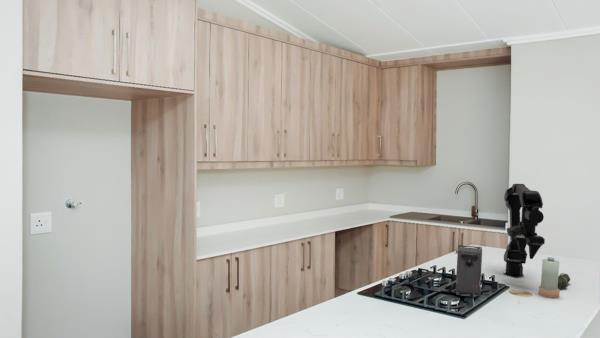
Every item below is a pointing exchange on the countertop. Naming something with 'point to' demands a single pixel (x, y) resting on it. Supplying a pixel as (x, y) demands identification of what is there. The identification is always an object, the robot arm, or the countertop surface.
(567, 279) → the green toy tank
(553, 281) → the cloche
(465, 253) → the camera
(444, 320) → the countertop surface
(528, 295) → the cork mat
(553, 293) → the ramekin
